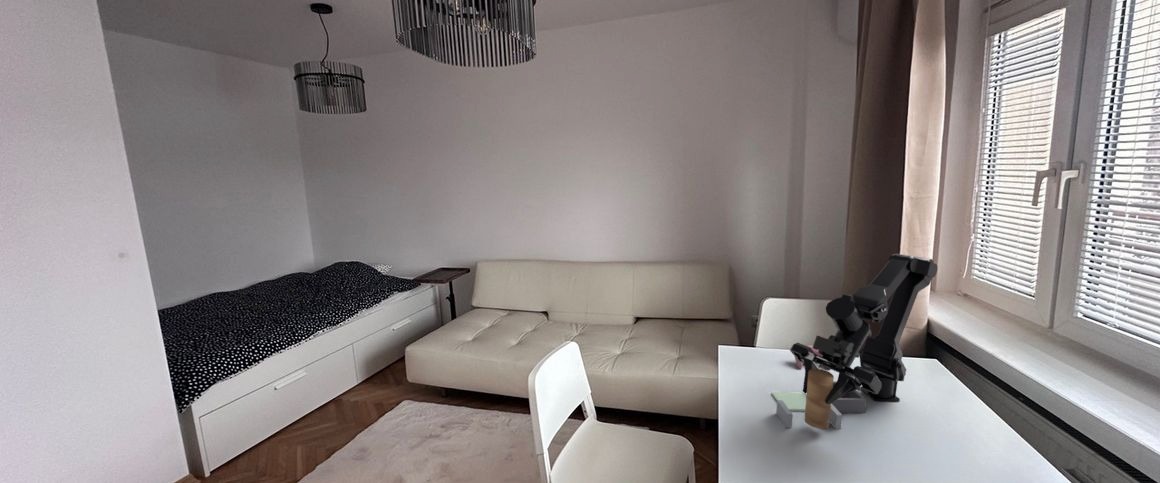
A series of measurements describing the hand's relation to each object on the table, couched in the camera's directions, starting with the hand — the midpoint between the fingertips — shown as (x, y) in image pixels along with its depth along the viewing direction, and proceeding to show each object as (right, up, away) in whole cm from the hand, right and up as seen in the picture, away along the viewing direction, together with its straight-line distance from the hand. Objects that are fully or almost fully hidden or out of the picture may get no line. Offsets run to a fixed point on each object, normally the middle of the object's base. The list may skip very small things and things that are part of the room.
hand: (815, 397), depth 99 cm
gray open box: (+13, -6, +14) cm, 20 cm away
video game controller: (+17, -3, +34) cm, 38 cm away
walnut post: (+1, -6, +2) cm, 7 cm away
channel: (+2, -8, +6) cm, 10 cm away
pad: (+2, -6, +14) cm, 16 cm away
